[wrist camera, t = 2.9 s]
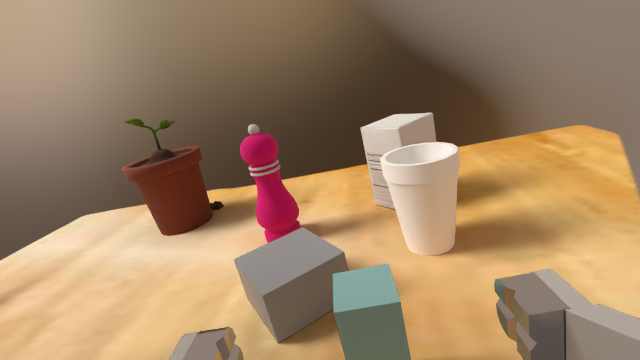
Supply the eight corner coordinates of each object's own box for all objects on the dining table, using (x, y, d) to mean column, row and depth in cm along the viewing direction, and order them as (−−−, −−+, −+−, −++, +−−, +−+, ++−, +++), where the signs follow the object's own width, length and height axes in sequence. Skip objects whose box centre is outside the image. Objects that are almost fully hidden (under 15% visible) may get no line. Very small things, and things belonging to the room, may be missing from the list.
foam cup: (483, 242, 43) (475, 146, 39) (427, 272, 40) (412, 171, 36) (432, 220, 51) (421, 139, 47) (382, 243, 48) (366, 158, 44)
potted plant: (134, 251, 67) (80, 131, 59) (157, 214, 87) (119, 121, 79) (222, 224, 70) (180, 106, 62) (224, 195, 90) (193, 103, 82)
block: (420, 410, 25) (400, 301, 22) (360, 418, 25) (333, 313, 22) (406, 360, 29) (388, 263, 26) (356, 368, 29) (332, 273, 26)
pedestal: (278, 343, 34) (262, 295, 32) (247, 298, 43) (233, 259, 41) (354, 296, 39) (344, 251, 37) (312, 264, 47) (302, 227, 45)
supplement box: (404, 187, 66) (393, 113, 62) (444, 194, 59) (434, 111, 55) (373, 205, 62) (358, 126, 57) (412, 214, 55) (398, 126, 50)
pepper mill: (312, 230, 57) (283, 117, 51) (281, 251, 53) (244, 129, 47) (287, 223, 63) (258, 119, 57) (256, 241, 58) (220, 131, 52)
